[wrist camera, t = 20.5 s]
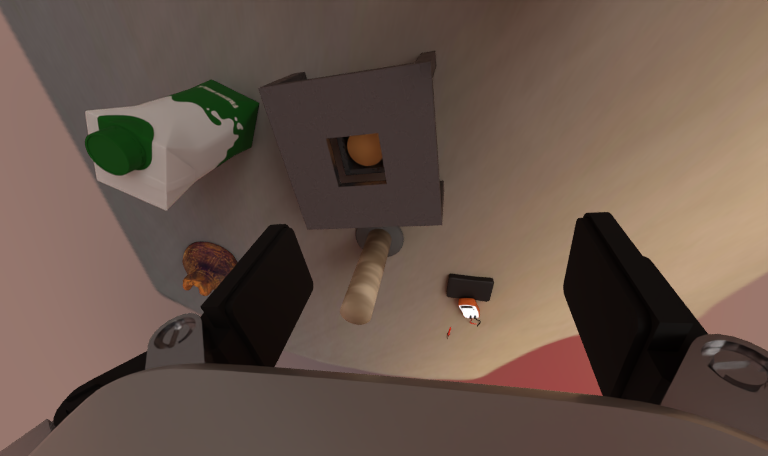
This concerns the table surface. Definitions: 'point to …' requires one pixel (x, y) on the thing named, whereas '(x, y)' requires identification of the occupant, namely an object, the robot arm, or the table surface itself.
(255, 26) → the table surface
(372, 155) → the orange-brown round lump
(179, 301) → the table surface
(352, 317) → the dowel
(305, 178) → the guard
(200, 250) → the brown rounded piece
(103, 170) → the milk carton
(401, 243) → the coaster
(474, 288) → the multimeter
